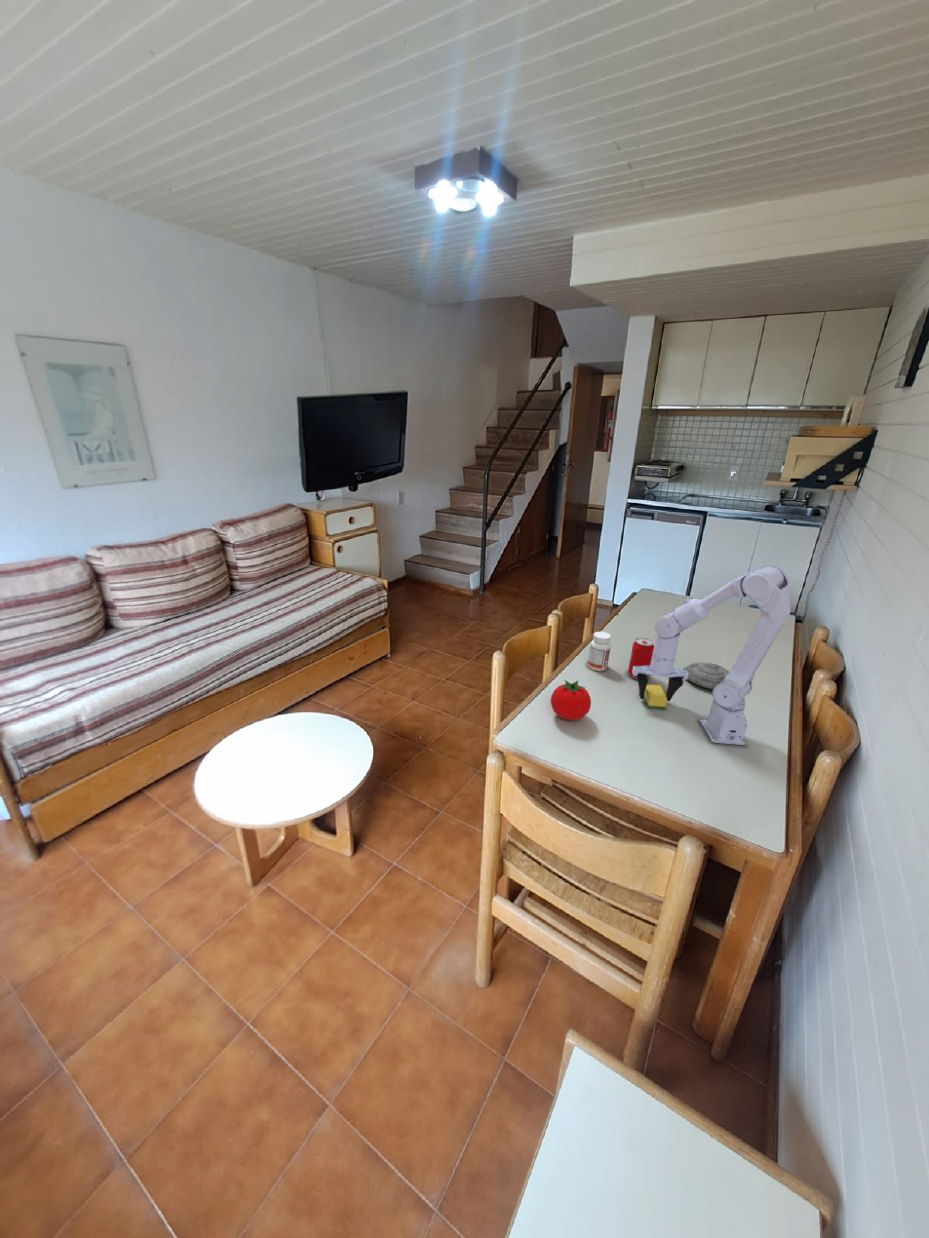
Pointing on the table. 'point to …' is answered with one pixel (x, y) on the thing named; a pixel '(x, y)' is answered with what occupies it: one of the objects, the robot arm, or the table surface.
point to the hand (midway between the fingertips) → (654, 698)
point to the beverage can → (641, 654)
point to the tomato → (571, 701)
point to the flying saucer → (706, 674)
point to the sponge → (655, 697)
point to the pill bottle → (599, 651)
